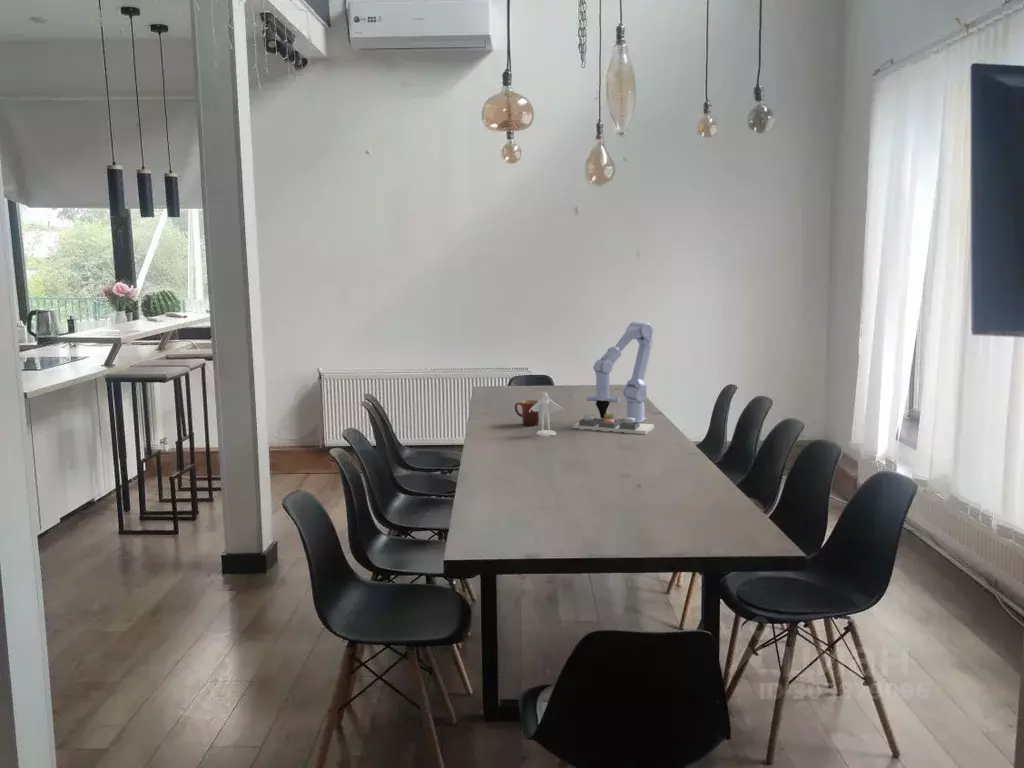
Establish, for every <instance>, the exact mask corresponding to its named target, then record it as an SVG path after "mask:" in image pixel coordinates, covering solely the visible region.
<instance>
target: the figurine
mask: <svg viewBox="0 0 1024 768" xmlns="http://www.w3.org/2000/svg"><path fill="white" fill-rule="evenodd" d="M542 393H543V394H542V397H541V398H540V399H539V400H537V401H538V402H537V403H536V404H535V405H534V406H533V407H532V408H531V409H532V411H534V412H537V411H539V412H541V430H538V431H537V432H536V433H535V435H536V434H537V435H536V436H538V435H540V436H539V437H551V436H550V435H554V436H556V435H557V432H556V431H555V430H552V429H551V425H550V422H551V421H550V418H551V417H550V416H551V413H555V412H558V411H560V410H562V411H565V410H564V408H563V407H561V405H559V404H557V403H555V402H554V401H553V400H552V399H551V398H550V397H549V394H548V393H547V392H544V391H543V392H542ZM531 409H530V410H529V413H530V411H531ZM545 417H546V422H547V428H548V429H544V426H545ZM555 434H556V435H555Z"/></svg>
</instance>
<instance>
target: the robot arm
mask: <svg viewBox="0 0 1024 768" xmlns="http://www.w3.org/2000/svg"><path fill="white" fill-rule="evenodd" d="M625 330H626V331H624V333H623V335H622V336H621V337H620V339H619V340H618V341H617V343H616V344H615V346H609V347H608V348H607V351H606V352H605V354H604V355H602V356H601V358H600V359H597V360H596V361H595V363H594V365H592V368H593V371H594V373H595V376H596V377H595V378H596V379H595V388H596V390H595V393H596V394H595V395H587V396H586V402H595V407H597V410H598V412H599V415H600V419H604V414H605V413H607V411H608V408H609V406H610V403H614V404H615V403H616V404H618V403H619V404H620V397H614V396H610V373H611V372H612V370H613V368H614V364H615V363H616V362H617V361H618V360H619V358H620V357H621V356H622V351H623V350H624V349H625V348H626V347H627V346H628V345H629V343H631V342H632V341H633V340H636V341H637V343H638V344H639V345H638V350H637V353H636V357H635V363H634V367H633V371H632V375H631V379H629V380H628V381H627V382H626V385H625V387H624V388H623V391H622V392H623V397H624V398H625V400H626V417H633V418H635V422H640V424H642V423H643V422H644V421H645V420H647V417H645V410H646V409H645V403H644V402H645V400H646V398H647V395H648V393H647V388H648V386H647V384H646V382H645V378H646V373H647V369H648V364H649V361H650V355H651V351H652V347H653V334H654V328H653V326H652V325H651V323H649V322H638V321H631V322H630V323H629V325H627V327H626V329H625Z"/></svg>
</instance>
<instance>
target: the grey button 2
mask: <svg viewBox="0 0 1024 768" xmlns="http://www.w3.org/2000/svg"><path fill="white" fill-rule="evenodd" d="M623 421H624V424H630V425H635V418H633V417H627V416H626V417H624V418H623Z"/></svg>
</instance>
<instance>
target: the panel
mask: <svg viewBox="0 0 1024 768" xmlns="http://www.w3.org/2000/svg"><path fill="white" fill-rule="evenodd" d="M614 420H615V423H604V418H598V417H596V418H595V421H594V422H590V421H584V417H583V418H582V419H580V420H579V421H578V422H576V423H575V424H573V425H572V429H573V428H580V429H579V430H584V429H592V430H591V431H596V430H602V431H601V432H609V431H613V432H612V433H621V432H624V434H633V433H635V434H636V433H637V435H647V434H648V433H650V432H651V431H652V430H653V429H655V424H651V423H640V422H635V425H630V424H624V419H614ZM649 431H650V432H649Z"/></svg>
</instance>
